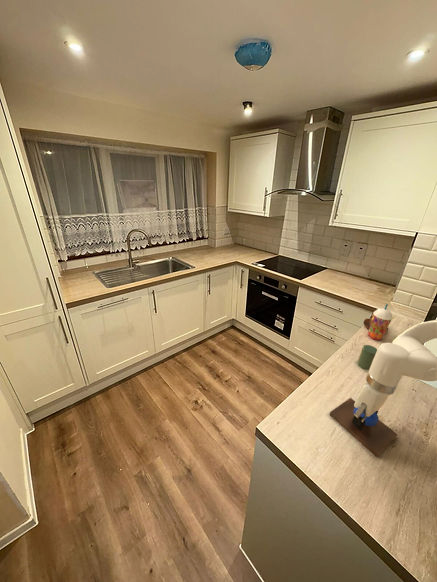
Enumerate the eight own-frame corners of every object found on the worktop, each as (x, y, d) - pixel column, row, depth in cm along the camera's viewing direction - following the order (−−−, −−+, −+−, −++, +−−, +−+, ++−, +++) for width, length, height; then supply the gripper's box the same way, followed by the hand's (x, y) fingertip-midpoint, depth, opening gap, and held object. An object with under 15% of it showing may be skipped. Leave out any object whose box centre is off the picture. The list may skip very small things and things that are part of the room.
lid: (348, 412, 78) (350, 409, 77) (360, 404, 81) (361, 401, 81) (369, 430, 73) (371, 426, 72) (381, 420, 76) (382, 417, 75)
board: (396, 437, 75) (397, 434, 75) (376, 457, 70) (377, 453, 69) (349, 400, 88) (350, 397, 87) (329, 414, 82) (330, 411, 81)
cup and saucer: (370, 334, 127) (374, 324, 125) (358, 322, 138) (361, 313, 135) (392, 334, 128) (396, 325, 125) (377, 322, 139) (381, 313, 136)
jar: (374, 367, 104) (381, 350, 100) (367, 371, 102) (374, 355, 98) (361, 358, 109) (367, 343, 105) (354, 363, 106) (360, 347, 102)
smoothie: (363, 336, 125) (374, 303, 117) (368, 330, 130) (380, 298, 122) (380, 344, 120) (394, 310, 111) (385, 337, 125) (399, 305, 116)
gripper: (383, 363, 77) (366, 401, 85) (352, 383, 69) (336, 423, 77) (408, 379, 71) (388, 418, 79) (378, 402, 63) (359, 444, 71)
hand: (363, 420), depth 78 cm, fingers closed on lid, 6 cm apart
